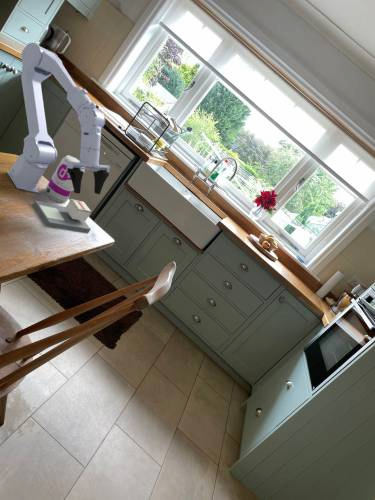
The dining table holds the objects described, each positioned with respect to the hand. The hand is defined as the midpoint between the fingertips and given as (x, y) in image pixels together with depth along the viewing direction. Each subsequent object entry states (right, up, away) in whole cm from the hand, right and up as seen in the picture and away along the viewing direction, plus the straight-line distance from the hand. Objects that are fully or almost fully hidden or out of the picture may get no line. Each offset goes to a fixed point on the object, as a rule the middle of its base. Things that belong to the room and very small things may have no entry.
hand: (87, 193), depth 120 cm
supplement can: (-15, +1, +15) cm, 21 cm away
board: (-10, -8, +4) cm, 13 cm away
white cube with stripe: (-6, -6, +7) cm, 11 cm away
